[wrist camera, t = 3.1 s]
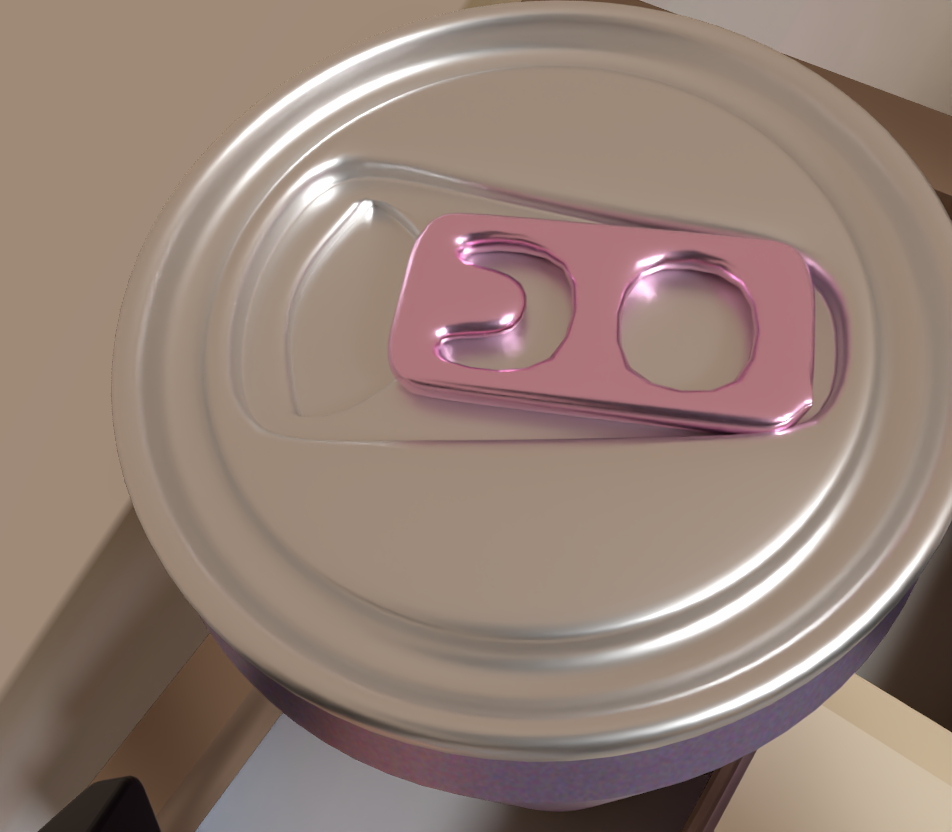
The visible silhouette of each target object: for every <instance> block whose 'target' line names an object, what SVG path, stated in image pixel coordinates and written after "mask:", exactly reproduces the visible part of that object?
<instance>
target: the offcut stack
mask: <svg viewBox="0 0 952 832" xmlns="http://www.w3.org/2000/svg"><path fill="white" fill-rule="evenodd" d="M681 832H952V732H950V731H949V730H947V729H945V728H944V727H942V726H940V725H939V724H937V723H935V722H934V721H932V720H930V719H929V718H927V717H926V716H924V715H922V714H921V713H919V712H917V711H916V710H914V709H912V708H911V707H909V706H907V705H906V704H904V703H903V702H901V701H899V700H898V699H896V698H894V697H893V696H891V695H889V694H888V693H886V692H884V691H883V690H881V689H880V688H878V687H876V686H875V685H873V684H871V683H870V682H868V681H866V680H865V679H863V678H861V677H860V676H858V675H857V674H855V673H854V674H853V675H852V676H851V677H850V678H849V679H848V681H847V682H846V683H845V684H844V685H843V686H842V687H841V688H840V689H839V690H837V691H836V692H835V693H834V694H833V695H832V696H831V697H830V698H828V699H827V700H826V701H825V702H824V703H823V704H822V705H821V706H819V707H818V708H817V709H816V710H815V711H814V712H812V713H811V714H810V715H808V716H807V717H806V718H804V719H803V720H801V721H800V722H799V723H797V724H796V725H795V726H793V727H792V728H791V729H789V730H788V731H786V732H785V733H783V734H782V735H780V736H778V737H777V738H775V739H773V740H772V741H770V742H769V743H767V744H765V745H764V746H762V747H760V748H759V749H757V750H755V751H754V752H752V753H749V754H747V755H745V756H743V757H741V758H739V759H737V760H735V761H733V762H731V763H729V764H727V765H725V766H723V767H721V768H718V769H716V770H715V771H714V772H713V774H712V776H711V778H710V780H709V782H708V783H707V785H706V787H705V789H704V791H703V792H702V794H701V796H700V798H699V800H698V802H697V803H696V805H695V807H694V809H693V811H692V813H691V814H690V816H689V818H688V820H687V822H686V824H685V825H684V827H683V829H682V831H681Z"/></svg>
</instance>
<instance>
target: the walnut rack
mask: <svg viewBox="0 0 952 832" xmlns="http://www.w3.org/2000/svg"><path fill="white" fill-rule="evenodd" d="M526 1H552V0H522V1H521V2H526ZM560 1H591V2H605V3H615V4H623V5H630V6H638V7H643V8H649V9H654V10H660V11H665V12H669V11H667V10H664V9H661V8H659V7H656V6H653V5H651V4H648V3H645V2H643V1H640V0H560ZM669 13H672V12H669ZM673 14H675V13H673ZM677 15H678V14H677ZM782 54H783V53H782ZM784 55H785V54H784ZM786 56H788V55H786ZM788 57H790V58H791V59H793V60H795V61H797V62H799V63H800V64H802V65H804V66H805V67H807V68H808V69H810V70H812V71H813V72H815V73H817V74H818V75H820V76H821V77H823V78H824V79H826V80H827V81H828V82H830V83H831V84H833V85H834V86H835V87H837V88H838V89H840V90H841V91H843V92H844V93H845V94H846V95H848V96H849V97H850V98H851V99H852V100H854V101H855V102H856V103H857V104H859V105H860V106H861V107H862V108H863V109H865V110H866V111H867V112H868V113H869V114H870V115H871V116H872V117H873V118H874V119H875V120H876V121H878V122H879V123H880V124H881V125H882V126H883V127H884V128H885V129H886V130H887V131H888V132H889V133H890V134H891V136H892V137H893V138H894V139H895V140H896V141H897V142H898V143H899V144H900V145H901V147H902V148H903V149H904V150H905V151H906V152H907V153H908V155H909V156H910V157H911V159H912V160H913V161H914V162H915V164H916V165H917V166H918V168H919V169H920V170H921V171H922V173H923V174H924V176H925V177H926V179H927V180H928V182H929V183H930V185H931V186H932V188H933V189H934V191H935V192H936V194H937V195H938V197H939V199H940V200H941V202H942V204H943V206H944V208H945V210H946V211H947V213H948V215H949V217H950V219H951V221H952V116H950V115H947V114H944V113H941V112H939V111H936V110H933V109H931V108H928V107H925V106H923V105H920V104H917V103H915V102H912V101H909V100H906V99H904V98H901V97H898V96H896V95H893V94H890V93H888V92H885V91H882V90H880V89H877V88H874V87H871V86H869V85H866V84H863V83H861V82H858V81H855V80H853V79H850V78H847V77H845V76H842V75H839V74H836V73H834V72H831V71H828V70H826V69H823V68H820V67H818V66H815V65H812V64H810V63H807V62H804V61H801V60H799V59H796V58H793V57H791V56H788ZM281 714H282V711H281V710H280V709H278V708H277V707H276V706H275V705H274V704H272V703H271V702H270V701H269V700H268V699H267V698H266V697H265V696H264V695H263V694H262V693H261V692H260V691H259V690H258V689H257V688H256V687H254V686H253V685H252V684H251V683H250V682H249V681H248V680H247V679H246V678H245V676H244V675H243V674H242V673H241V672H240V671H239V669H238V668H237V667H236V666H235V665H234V664H233V662H232V661H231V660H230V659H229V658H228V657H227V655H226V654H225V653H224V651H223V650H222V649H221V647H220V646H219V644H218V643H217V642H216V640H215V639H214V637H213V636H212V635H211V633H209V635H208V636H207V637H206V639H205V640H204V641H203V642H202V644H201V645H200V646H199V647H198V649H197V650H196V651H195V652H194V654H193V655H192V656H191V657H190V659H189V660H188V661H187V662H186V664H185V665H184V666H183V667H182V669H181V670H180V671H179V673H178V674H177V675H176V676H175V678H174V679H173V680H172V681H171V683H170V684H169V685H168V686H167V688H166V689H165V690H164V691H163V693H162V694H161V695H160V696H159V698H158V699H157V700H156V701H155V703H154V704H153V705H152V707H151V708H150V709H149V710H148V712H147V713H146V714H145V715H144V717H143V718H142V719H141V720H140V722H139V723H138V724H137V725H136V727H135V728H134V729H133V730H132V732H131V733H130V734H129V735H128V737H127V738H126V739H125V741H124V742H123V743H122V744H121V746H120V747H119V748H118V749H117V751H116V752H115V753H114V754H113V756H112V757H111V758H110V759H109V761H108V762H107V763H106V764H105V766H104V767H103V768H102V769H101V771H100V772H99V773H98V775H97V776H96V777H95V778H94V780H93V781H92V782H91V783H90V785H91V784H93V783H95V782H98V781H101V780H106V779H112V778H118V777H123V776H134V777H136V778H138V779H139V780H140V781H141V783H142V785H143V786H144V789H145V791H146V794H147V796H148V799H149V801H150V804H151V806H152V809H153V811H154V814H155V816H156V819H157V821H158V824H159V827H160V829H161V832H195V831H196V829H197V828H198V827H199V825H200V824H201V822H202V821H203V820H204V818H205V817H206V816H207V814H208V813H209V812H210V810H211V809H212V808H213V806H214V805H215V803H216V802H217V801H218V799H219V798H220V797H221V795H222V794H223V793H224V791H225V790H226V789H227V787H228V786H229V784H230V783H231V782H232V780H233V779H234V778H235V776H236V775H237V774H238V772H239V771H240V770H241V768H242V767H243V765H244V764H245V763H246V761H247V760H248V759H249V757H250V756H251V755H252V753H253V752H254V751H255V749H256V748H257V746H258V745H259V744H260V742H261V741H262V740H263V738H264V737H265V736H266V734H267V733H268V731H269V730H270V729H271V727H272V726H273V725H274V723H275V722H276V721H277V719H278V718H279V717H280V715H281ZM90 785H89V786H90ZM89 786H88V787H89ZM88 787H87V788H88Z"/></svg>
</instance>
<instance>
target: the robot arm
mask: <svg viewBox="0 0 952 832" xmlns="http://www.w3.org/2000/svg"><path fill="white" fill-rule="evenodd" d="M38 832H161V829H160V827H159V824H158V821H157V819H156V816H155V814H154V811H153V809H152V806H151V804H150V801H149V799H148V796H147V794H146V791H145V789H144V786H143V785H142V783H141V781H140V780H139V779H138V778H136V777H134V776H123V777H118V778H112V779H106V780H101V781H98V782H95V783H93V784H91V785H90V786H89V787H88V788H86V789H85V790H84V791H83V792H82V793H81V794H80V795H79V796H77V797H76V798H75V799H74V800H73V801H72V802H71V803H69V804H68V805H67V806H66V807H65V808H64V809H63V810H62V811H60V812H59V813H58V814H57V815H56V816H55V817H54V818H52V819H51V820H50V821H49V822H48V823H47V824H46V825H45V826H43V827H42V828H41V829H40V830H39V831H38Z"/></svg>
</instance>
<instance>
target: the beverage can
mask: <svg viewBox="0 0 952 832" xmlns="http://www.w3.org/2000/svg"><path fill="white" fill-rule="evenodd" d="M111 397H112V414H113V426H114V433H115V439H116V446H117V452H118V456H119V460H120V464H121V468H122V472H123V476H124V480H125V484H126V487H127V489H128V492H129V495H130V498H131V501H132V504H133V506H134V509H135V512H136V514H137V516H138V519H139V521H140V523H141V525H142V527H143V529H144V532H145V534H146V536H147V538H148V540H149V542H150V544H151V546H152V547H153V549H154V551H155V552H156V554H157V556H158V558H159V559H160V561H161V563H162V564H163V566H164V568H165V570H166V571H167V573H168V574H169V576H170V577H171V579H172V580H173V581H174V583H175V584H176V586H177V587H178V588H179V590H180V591H181V593H182V594H183V595H184V597H185V598H186V600H187V601H188V602H189V603H190V604H191V605H192V607H193V608H194V609H195V610H196V611H197V612H198V614H199V615H200V617H201V619H202V621H203V622H204V624H205V626H206V627H207V629H208V630H209V632H210V633H211V635H212V636H213V637H214V639H215V640H216V642H217V643H218V644H219V646H220V647H221V649H222V650H223V651H224V653H225V654H226V655H227V657H228V658H229V659H230V660H231V661H232V662H233V664H234V665H235V666H236V667H237V668H238V669H239V671H240V672H241V673H242V674H243V675H244V676H245V678H246V679H247V680H248V681H249V682H250V683H251V684H252V685H253V686H254V687H256V688H257V689H258V690H259V691H260V692H261V693H262V694H263V695H264V696H265V697H266V698H267V699H268V700H269V701H270V702H271V703H272V704H274V705H275V706H276V707H277V708H278V709H280V710H281V711H282V712H283V713H285V714H286V715H287V716H288V717H290V718H291V719H292V720H293V721H294V722H296V723H297V724H299V725H300V726H302V727H303V728H304V729H306V730H307V731H309V732H310V733H312V734H313V735H315V736H316V737H318V738H319V739H321V740H322V741H324V742H325V743H327V744H329V745H331V746H333V747H334V748H336V749H338V750H340V751H342V752H343V753H345V754H347V755H349V756H351V757H352V758H354V759H356V760H358V761H361V762H363V763H365V764H367V765H370V766H372V767H374V768H376V769H379V770H381V771H383V772H385V773H388V774H390V775H393V776H396V777H399V778H402V779H405V780H408V781H411V782H414V783H417V784H419V785H422V786H426V787H430V788H434V789H438V790H442V791H446V792H450V793H454V794H458V795H463V796H468V797H473V798H478V799H483V800H488V801H493V802H498V803H503V804H508V805H513V806H518V807H523V808H528V809H534V810H540V811H553V812H560V811H574V810H581V809H586V808H591V807H594V806H598V805H601V804H605V803H609V802H612V801H616V800H620V799H623V798H627V797H631V796H634V795H638V794H641V793H645V792H649V791H652V790H656V789H659V788H663V787H666V786H670V785H673V784H677V783H680V782H684V781H687V780H689V779H692V778H695V777H697V776H700V775H702V774H705V773H708V772H710V771H713V770H716V769H718V768H721V767H723V766H725V765H727V764H729V763H731V762H733V761H735V760H737V759H739V758H741V757H743V756H745V755H747V754H749V753H752V752H754V751H755V750H757V749H759V748H760V747H762V746H764V745H765V744H767V743H769V742H770V741H772V740H773V739H775V738H777V737H778V736H780V735H782V734H783V733H785V732H786V731H788V730H789V729H791V728H792V727H793V726H795V725H796V724H797V723H799V722H800V721H801V720H803V719H804V718H806V717H807V716H808V715H810V714H811V713H812V712H814V711H815V710H816V709H817V708H818V707H819V706H821V705H822V704H823V703H824V702H825V701H826V700H827V699H828V698H830V697H831V696H832V695H833V694H834V693H835V692H836V691H837V690H839V689H840V688H841V687H842V686H843V685H844V684H845V683H846V682H847V681H848V679H849V678H850V677H851V676H852V675H853V674H854V673H855V672H856V671H857V670H858V669H859V668H860V667H861V666H862V664H863V663H864V662H865V661H866V660H867V659H868V657H869V656H870V655H871V653H872V652H873V651H874V650H875V648H876V647H877V646H878V644H879V643H880V642H881V640H882V639H883V638H884V637H885V635H886V634H887V632H888V631H889V629H890V628H891V626H892V624H893V623H894V621H895V620H896V618H897V617H898V615H899V613H900V612H901V610H902V609H903V607H904V605H905V603H906V601H907V599H908V597H909V595H910V593H911V591H912V589H913V588H914V586H915V584H916V582H917V580H918V578H919V576H920V574H921V573H922V571H923V570H924V568H925V567H926V565H927V563H928V562H929V560H930V559H931V557H932V556H933V554H934V552H935V551H936V549H937V548H938V546H939V544H940V543H941V541H942V539H943V537H944V535H945V533H946V531H947V529H948V527H949V525H950V523H951V521H952V221H951V219H950V217H949V215H948V213H947V211H946V210H945V208H944V206H943V204H942V202H941V200H940V199H939V197H938V195H937V194H936V192H935V191H934V189H933V188H932V186H931V185H930V183H929V182H928V180H927V179H926V177H925V176H924V174H923V173H922V171H921V170H920V169H919V168H918V166H917V165H916V164H915V162H914V161H913V160H912V159H911V157H910V156H909V155H908V153H907V152H906V151H905V150H904V149H903V148H902V147H901V145H900V144H899V143H898V142H897V141H896V140H895V139H894V138H893V137H892V136H891V134H890V133H889V132H888V131H887V130H886V129H885V128H884V127H883V126H882V125H881V124H880V123H879V122H878V121H876V120H875V119H874V118H873V117H872V116H871V115H870V114H869V113H868V112H867V111H866V110H865V109H863V108H862V107H861V106H860V105H859V104H857V103H856V102H855V101H854V100H852V99H851V98H850V97H849V96H848V95H846V94H845V93H844V92H843V91H841V90H840V89H838V88H837V87H835V86H834V85H833V84H831V83H830V82H828V81H827V80H826V79H824V78H823V77H821V76H820V75H818V74H817V73H815V72H813V71H812V70H810V69H808V68H807V67H805V66H804V65H802V64H800V63H799V62H797V61H795V60H793V59H791V58H790V57H788V56H786V55H784V54H782V53H780V52H778V51H776V50H774V49H772V48H770V47H768V46H766V45H764V44H761V43H759V42H757V41H755V40H752V39H750V38H748V37H746V36H743V35H740V34H738V33H735V32H732V31H730V30H727V29H724V28H722V27H719V26H716V25H713V24H709V23H706V22H703V21H700V20H696V19H693V18H689V17H685V16H681V15H677V14H673V13H669V12H665V11H660V10H654V9H649V8H643V7H638V6H630V5H623V4H615V3H605V2H591V1H560V0H552V1H526V2H515V3H504V4H496V5H489V6H482V7H475V8H469V9H464V10H459V11H454V12H450V13H445V14H441V15H437V16H434V17H430V18H425V19H422V20H419V21H415V22H412V23H409V24H406V25H402V26H399V27H396V28H393V29H390V30H388V31H385V32H382V33H380V34H377V35H374V36H372V37H369V38H367V39H364V40H362V41H360V42H358V43H355V44H353V45H351V46H349V47H346V48H344V49H342V50H340V51H338V52H336V53H335V54H332V55H330V56H329V57H327V58H325V59H323V60H321V61H319V62H317V63H315V64H314V65H312V66H310V67H309V68H307V69H305V70H304V71H302V72H300V73H298V74H297V75H295V76H294V77H293V78H291V79H289V80H288V81H286V82H285V83H283V84H282V85H280V86H279V87H277V88H276V89H274V90H273V91H272V92H270V93H269V94H268V95H266V96H265V97H264V98H262V99H261V100H260V101H259V102H257V103H256V104H255V105H253V106H252V107H251V108H250V109H249V110H248V111H246V112H245V113H244V114H243V115H242V116H241V117H239V118H238V119H237V120H236V121H235V122H234V123H232V124H231V125H230V126H229V127H228V129H226V130H225V131H224V132H223V133H222V134H221V135H220V136H219V137H218V138H217V139H216V140H215V141H214V142H213V143H212V144H211V145H210V147H209V148H208V149H207V150H206V151H205V152H204V153H203V154H202V155H201V157H200V158H199V159H198V160H197V161H196V162H195V163H194V165H193V166H192V167H191V169H190V170H189V171H188V173H187V174H186V175H185V176H184V178H183V179H182V180H181V182H180V183H179V184H178V186H177V187H176V189H175V190H174V192H173V193H172V195H171V196H170V198H169V199H168V201H167V202H166V204H165V205H164V207H163V208H162V210H161V212H160V214H159V215H158V217H157V219H156V221H155V222H154V224H153V226H152V228H151V230H150V232H149V234H148V236H147V238H146V240H145V242H144V244H143V246H142V249H141V251H140V253H139V255H138V258H137V260H136V263H135V265H134V268H133V271H132V273H131V276H130V279H129V281H128V285H127V288H126V292H125V296H124V299H123V302H122V306H121V310H120V315H119V320H118V325H117V330H116V335H115V344H114V353H113V361H112V387H111Z"/></svg>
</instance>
